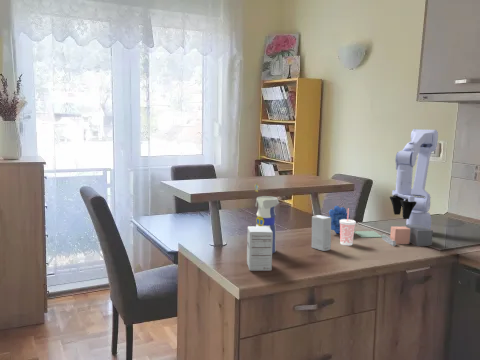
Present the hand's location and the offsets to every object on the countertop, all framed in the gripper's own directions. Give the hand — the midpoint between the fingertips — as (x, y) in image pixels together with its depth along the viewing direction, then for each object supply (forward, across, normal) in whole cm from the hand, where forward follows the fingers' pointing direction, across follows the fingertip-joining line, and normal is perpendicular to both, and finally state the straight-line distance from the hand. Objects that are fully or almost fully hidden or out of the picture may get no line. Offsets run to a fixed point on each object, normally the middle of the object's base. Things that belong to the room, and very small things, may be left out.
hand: (401, 216), depth 177 cm
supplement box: (+11, +26, -60) cm, 66 cm away
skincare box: (+11, +7, -34) cm, 36 cm away
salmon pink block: (+10, 0, 0) cm, 10 cm away
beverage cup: (+11, +1, -22) cm, 24 cm away
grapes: (+11, -13, -20) cm, 26 cm away
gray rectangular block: (+10, 0, +8) cm, 13 cm away
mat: (+10, -12, -8) cm, 18 cm away
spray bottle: (+11, +9, -55) cm, 57 cm away
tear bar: (+10, 0, -4) cm, 11 cm away
